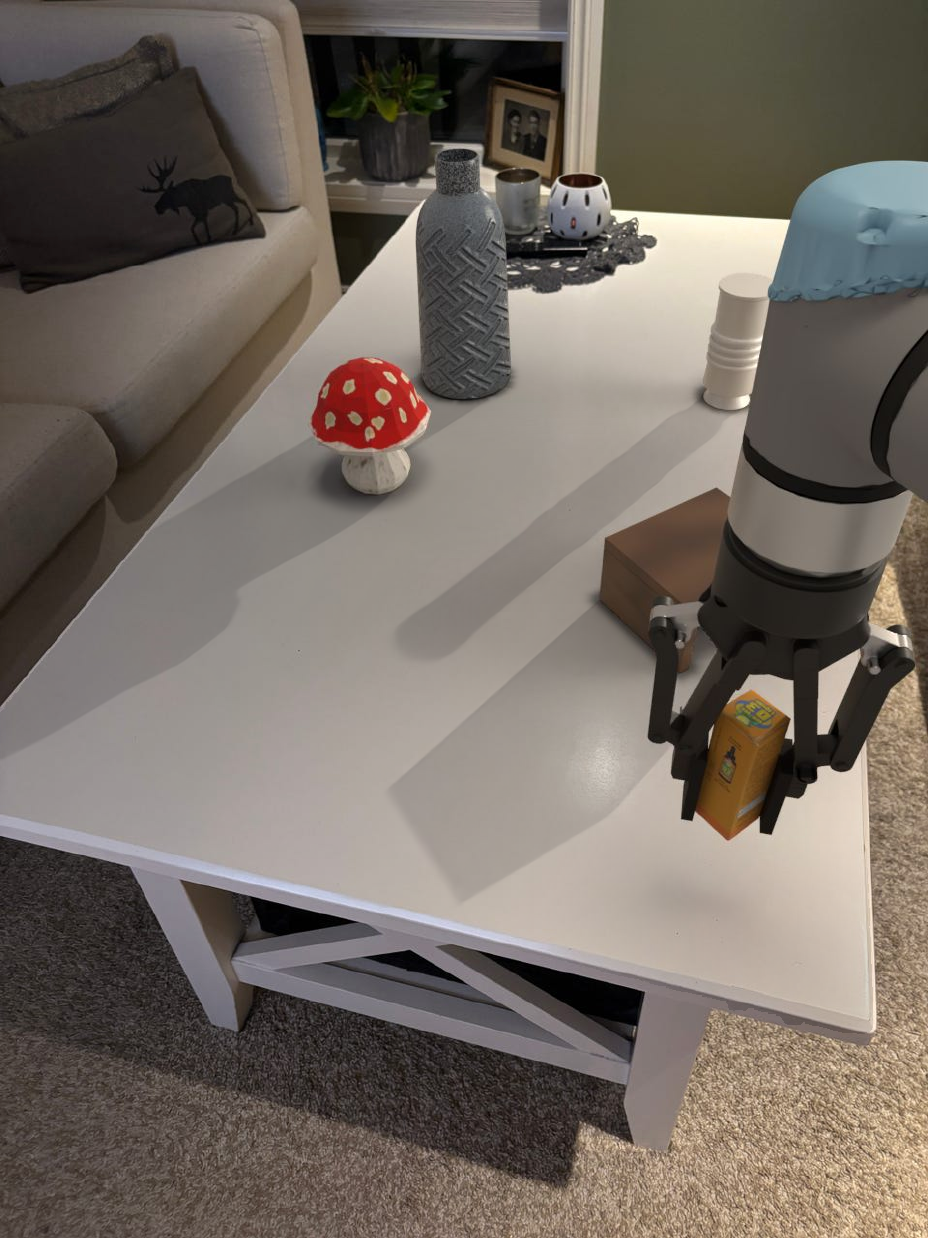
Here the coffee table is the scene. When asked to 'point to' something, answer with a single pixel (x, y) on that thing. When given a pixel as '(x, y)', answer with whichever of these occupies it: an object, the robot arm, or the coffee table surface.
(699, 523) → the shelf
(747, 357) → the white ribbed cylinder
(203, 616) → the coffee table surface
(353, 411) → the decorative mushroom
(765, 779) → the supplement box
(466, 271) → the vase
